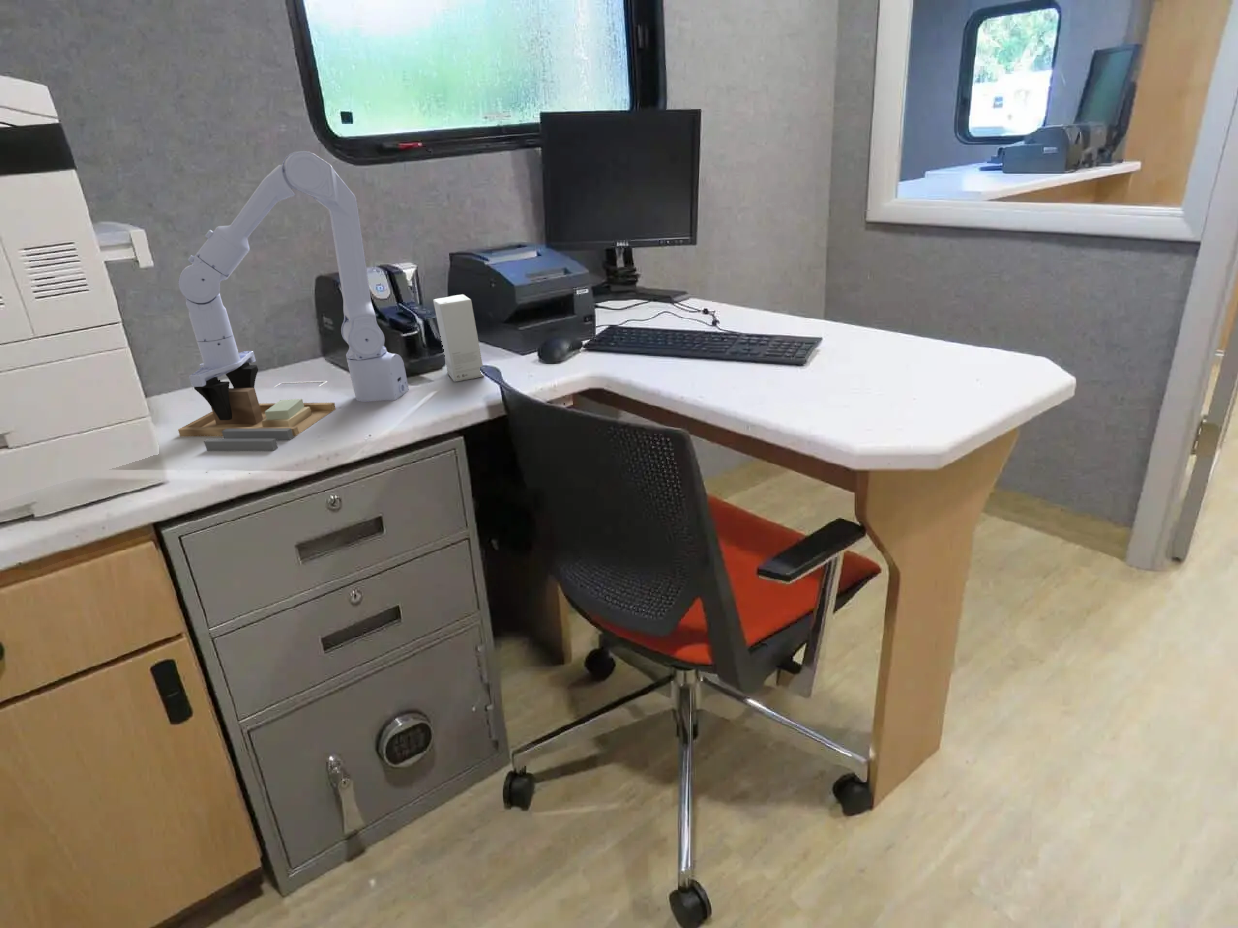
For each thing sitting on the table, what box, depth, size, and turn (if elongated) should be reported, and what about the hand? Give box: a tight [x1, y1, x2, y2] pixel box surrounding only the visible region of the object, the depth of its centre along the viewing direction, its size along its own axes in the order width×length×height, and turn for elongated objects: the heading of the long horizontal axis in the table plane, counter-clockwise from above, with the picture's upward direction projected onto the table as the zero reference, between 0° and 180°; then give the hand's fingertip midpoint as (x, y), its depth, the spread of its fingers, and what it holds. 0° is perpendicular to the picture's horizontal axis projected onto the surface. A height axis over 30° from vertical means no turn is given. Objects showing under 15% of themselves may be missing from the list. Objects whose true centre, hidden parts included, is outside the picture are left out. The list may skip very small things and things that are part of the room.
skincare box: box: [432, 293, 484, 382], centre depth 152 cm, size 8×7×16 cm
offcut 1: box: [265, 398, 304, 420], centre depth 132 cm, size 4×6×2 cm, turn 178°
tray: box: [177, 402, 337, 437], centre depth 134 cm, size 22×13×2 cm, turn 80°
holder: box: [203, 428, 294, 452], centre depth 124 cm, size 12×6×3 cm, turn 80°
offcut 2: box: [261, 407, 312, 427], centre depth 132 cm, size 5×7×2 cm
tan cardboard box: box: [210, 387, 263, 424], centre depth 133 cm, size 8×2×6 cm, turn 80°
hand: (237, 413), depth 134 cm, fingers open, 6 cm apart
